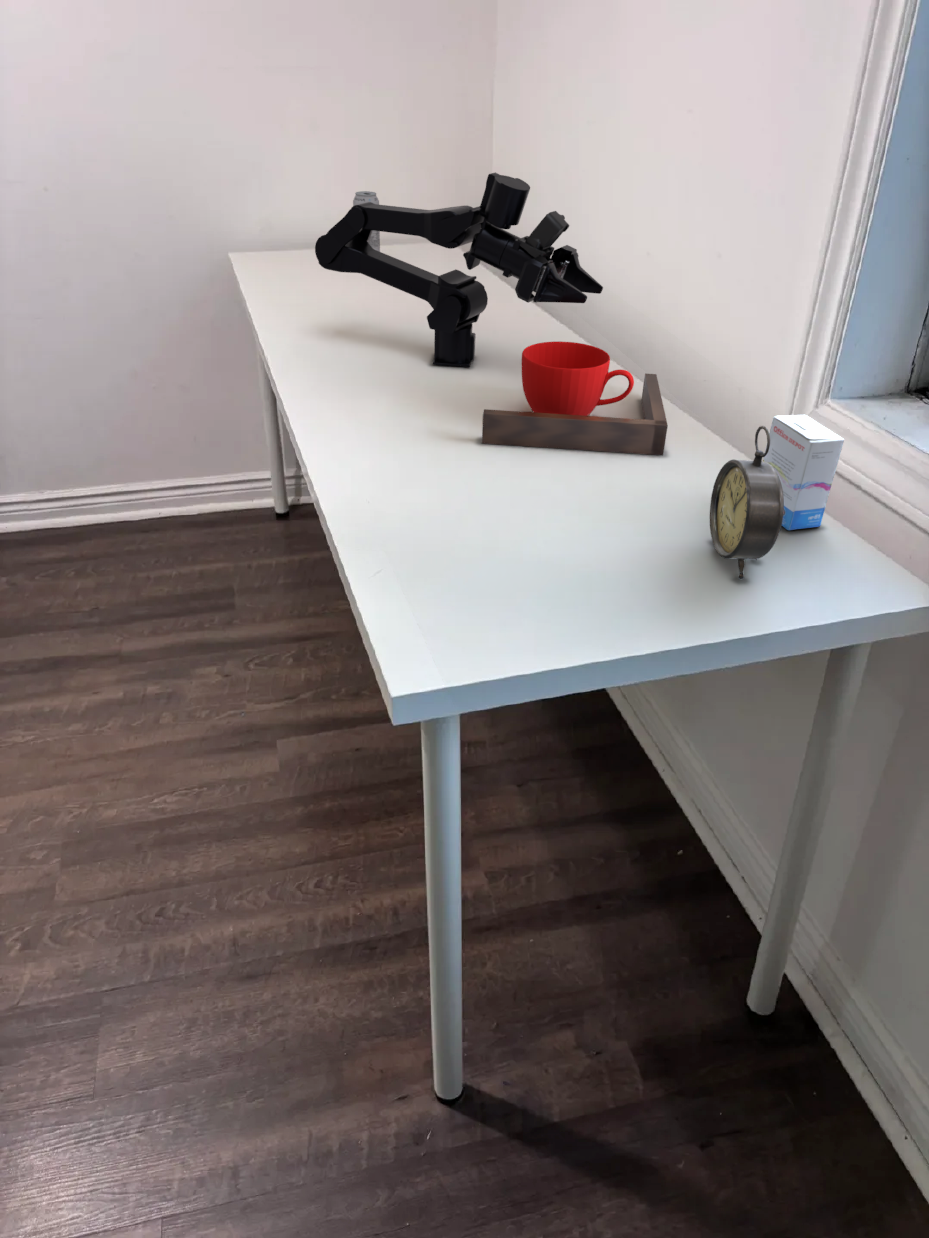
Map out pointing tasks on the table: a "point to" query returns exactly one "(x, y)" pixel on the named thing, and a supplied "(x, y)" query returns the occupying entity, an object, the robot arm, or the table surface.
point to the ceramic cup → (567, 378)
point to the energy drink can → (371, 197)
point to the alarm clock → (746, 508)
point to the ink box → (803, 467)
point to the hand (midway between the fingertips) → (594, 295)
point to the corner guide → (583, 428)
